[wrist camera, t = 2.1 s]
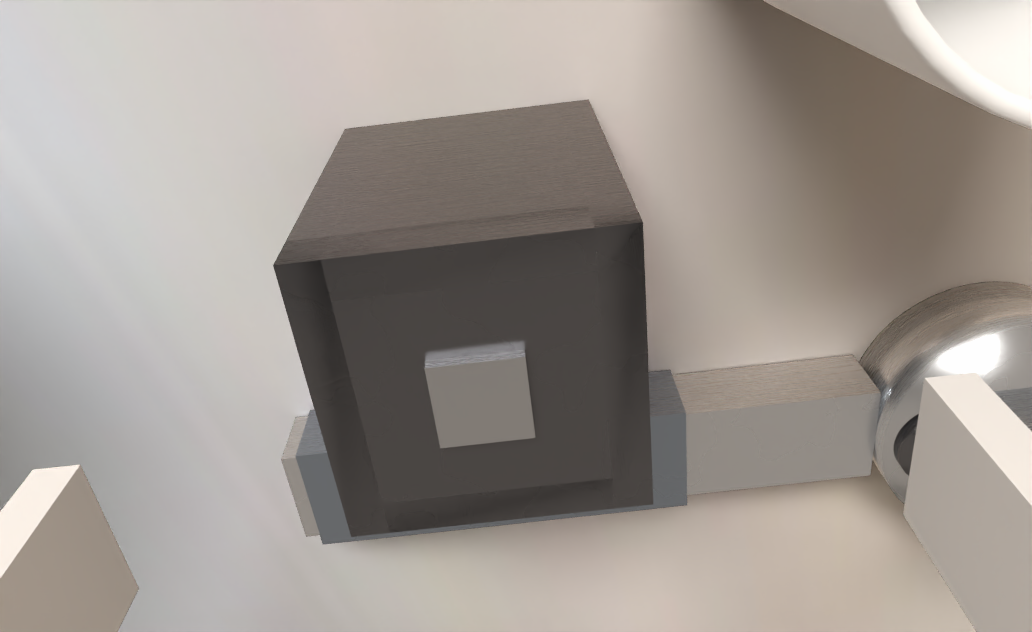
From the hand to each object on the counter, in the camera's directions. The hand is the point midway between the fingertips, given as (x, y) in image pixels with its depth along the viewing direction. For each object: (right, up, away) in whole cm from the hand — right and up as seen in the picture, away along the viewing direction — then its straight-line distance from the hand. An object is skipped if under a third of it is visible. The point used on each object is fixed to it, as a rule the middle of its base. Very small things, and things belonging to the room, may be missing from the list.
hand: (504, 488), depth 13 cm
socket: (-1, +5, +9) cm, 10 cm away
